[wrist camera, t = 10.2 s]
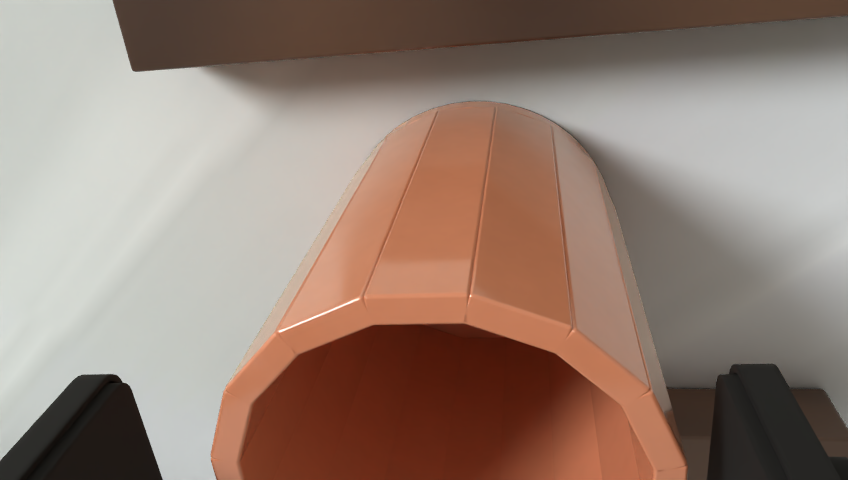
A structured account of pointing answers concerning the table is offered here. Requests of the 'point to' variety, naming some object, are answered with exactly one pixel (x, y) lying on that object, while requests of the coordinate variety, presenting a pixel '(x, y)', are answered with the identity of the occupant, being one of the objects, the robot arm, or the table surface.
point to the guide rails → (453, 27)
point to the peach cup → (458, 323)
